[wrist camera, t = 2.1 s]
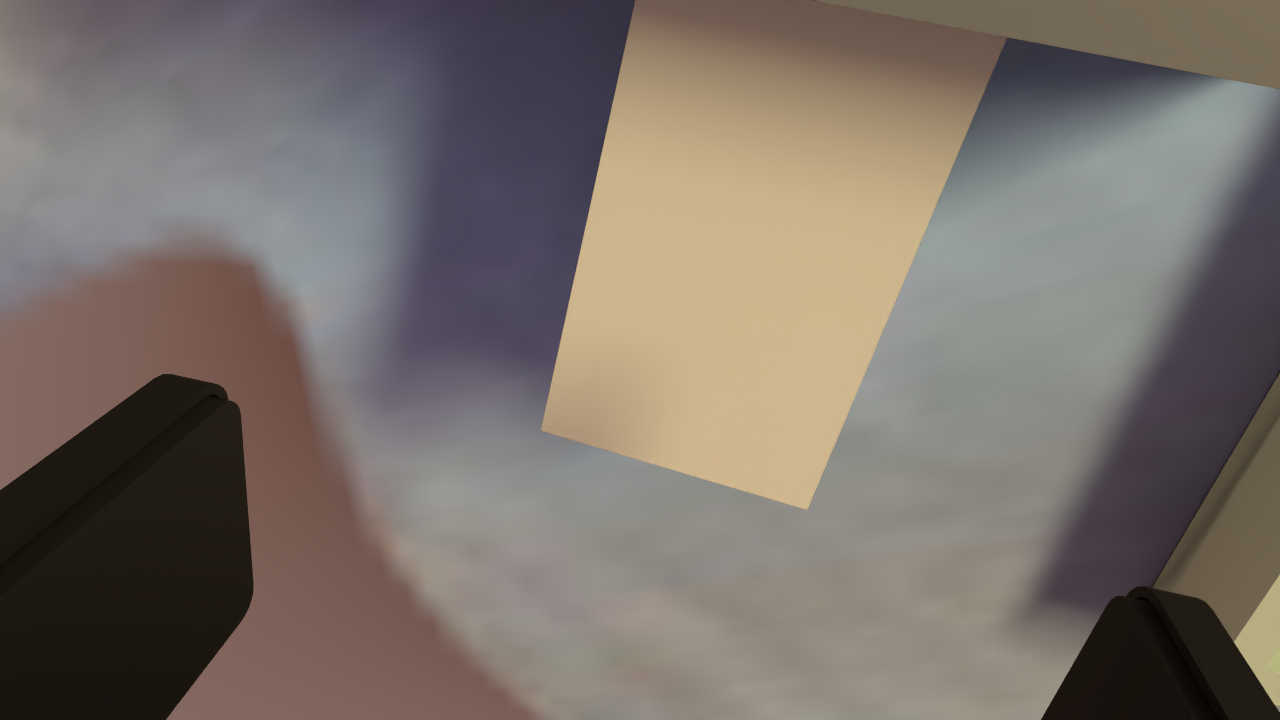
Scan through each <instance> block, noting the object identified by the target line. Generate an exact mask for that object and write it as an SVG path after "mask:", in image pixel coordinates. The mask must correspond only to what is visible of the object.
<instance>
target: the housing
mask: <svg viewBox="0 0 1280 720" xmlns="http://www.w3.org/2000/svg"><path fill="white" fill-rule="evenodd" d="M813 1H819V2H824V3H829V4H834V5H840V6H845V7H850V8H856V9H861V10H866V11H871V12H877V13H882V14H887V15H892V16H898V17H903V18H908V19H914V20H919V21H924V22H929V23H935V24H940V25H945V26H950V27H956V28H961V29H966V30H972V31H977V32H982V33H987V34H993V35H998V36H1003V37H1008V38H1014V39H1019V40H1024V41H1029V42H1035V43H1040V44H1045V45H1051V46H1056V47H1061V48H1066V49H1072V50H1077V51H1082V52H1087V53H1093V54H1098V55H1103V56H1109V57H1114V58H1119V59H1124V60H1130V61H1135V62H1140V63H1145V64H1151V65H1156V66H1161V67H1166V68H1172V69H1177V70H1182V71H1188V72H1193V73H1198V74H1203V75H1209V76H1214V77H1219V78H1224V79H1230V80H1235V81H1240V82H1246V83H1251V84H1256V85H1261V86H1267V87H1272V88H1277V89H1280V0H813Z"/></svg>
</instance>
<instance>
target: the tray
mask: <svg viewBox="0 0 1280 720" xmlns="http://www.w3.org/2000/svg"><path fill="white" fill-rule="evenodd" d="M1152 588H1155V589H1159V590H1164V591H1169V592H1173V593H1178V594H1182V595H1187V596H1191V597H1196V598H1199V599H1201V600H1203V601H1205V602H1206V603H1207V604H1208V605H1209V606H1210V607H1211V608H1212V609H1213V611H1214V612H1215V614H1216V615H1217V617H1218V618H1219V620H1220V621H1221V623H1222V625H1223V626H1224V628H1225V629H1226V631H1227V632H1228V634H1229V635H1230V637H1231V638H1232V640H1233V641H1234V643H1235V645H1236V646H1237V648H1238V649H1239V651H1240V652H1241V654H1242V655H1243V657H1244V658H1245V660H1246V661H1247V663H1248V665H1249V666H1250V668H1251V669H1252V671H1253V672H1254V674H1255V675H1256V677H1257V678H1258V680H1259V681H1260V683H1261V685H1262V686H1263V688H1264V689H1265V691H1266V692H1267V694H1268V695H1269V697H1270V698H1271V700H1272V701H1273V703H1274V705H1277V706H1280V373H1279V375H1278V377H1277V378H1276V380H1275V382H1274V384H1273V385H1272V387H1271V389H1270V390H1269V392H1268V394H1267V395H1266V397H1265V399H1264V400H1263V402H1262V404H1261V405H1260V407H1259V409H1258V410H1257V412H1256V414H1255V416H1254V417H1253V419H1252V421H1251V422H1250V424H1249V426H1248V427H1247V429H1246V431H1245V432H1244V434H1243V436H1242V437H1241V439H1240V441H1239V443H1238V444H1237V446H1236V448H1235V449H1234V451H1233V453H1232V454H1231V456H1230V458H1229V459H1228V461H1227V463H1226V464H1225V466H1224V468H1223V469H1222V471H1221V473H1220V475H1219V476H1218V478H1217V480H1216V481H1215V483H1214V485H1213V486H1212V488H1211V490H1210V491H1209V493H1208V495H1207V496H1206V498H1205V500H1204V502H1203V503H1202V505H1201V507H1200V508H1199V510H1198V512H1197V513H1196V515H1195V517H1194V518H1193V520H1192V522H1191V523H1190V525H1189V527H1188V528H1187V530H1186V532H1185V534H1184V535H1183V537H1182V539H1181V540H1180V542H1179V544H1178V545H1177V547H1176V549H1175V550H1174V552H1173V554H1172V555H1171V557H1170V559H1169V560H1168V562H1167V564H1166V566H1165V567H1164V569H1163V571H1162V572H1161V574H1160V576H1159V577H1158V579H1157V581H1156V582H1155V584H1154V586H1153V587H1152Z"/></svg>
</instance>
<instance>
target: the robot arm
mask: <svg viewBox="0 0 1280 720" xmlns="http://www.w3.org/2000/svg"><path fill="white" fill-rule="evenodd" d="M252 595H253V574H252V559H251V545H250V532H249V518H248V505H247V492H246V479H245V465H244V451H243V438H242V426H241V414H240V409H239V407H238V406H237V404H236V403H234V402H233V401H228V396H227V393H226V391H225V390H224V388H223V387H221V386H220V385H218V384H214V383H209V382H204V381H200V380H196V379H191V378H186V377H181V376H177V375H172V374H162V375H161V376H158V377H156V378H154V379H153V380H152V381H150V382H149V383H148V384H146V385H145V386H143V387H142V388H141V389H139V390H138V391H136V392H135V393H134V394H132V395H131V396H130V397H128V398H127V399H125V400H124V401H123V402H121V403H120V404H119V405H117V406H116V407H114V408H113V409H112V410H110V411H109V412H108V413H106V414H105V415H103V416H102V417H101V418H99V419H98V420H96V421H95V422H94V423H92V424H91V425H90V426H88V427H87V428H85V429H84V430H83V431H81V432H80V433H79V434H77V435H76V436H74V437H73V438H72V439H70V440H69V441H68V442H66V443H65V444H64V445H62V446H61V447H59V448H58V449H57V450H55V451H54V452H52V453H51V454H50V455H48V456H47V457H45V458H44V459H43V460H41V461H40V462H39V463H37V464H36V465H34V466H33V467H32V468H30V469H29V470H28V471H26V472H25V473H23V474H22V475H21V476H19V477H18V478H17V479H15V480H14V481H13V482H11V483H10V484H8V485H7V486H6V487H4V488H3V489H1V490H0V720H166V719H167V717H168V716H169V715H170V714H171V712H172V711H173V710H174V708H175V707H176V705H177V704H178V703H179V702H180V701H181V699H182V698H183V697H184V695H185V694H186V693H187V691H188V690H189V689H190V687H191V686H192V685H193V684H194V682H195V681H196V680H197V678H198V677H199V676H200V674H201V673H202V672H203V670H204V669H205V668H206V667H207V665H208V664H209V663H210V661H211V660H212V659H213V657H214V656H215V655H216V654H217V652H218V651H219V650H220V648H221V647H222V646H223V645H224V643H225V642H226V641H227V639H228V638H229V637H230V635H231V634H232V633H233V631H234V630H235V629H236V628H237V626H238V625H239V624H240V622H241V621H242V619H243V618H244V616H245V615H246V612H247V610H248V608H249V606H250V602H251V600H252ZM1041 720H1280V712H1279V711H1278V709H1277V708H1276V706H1275V705H1274V703H1273V701H1272V700H1271V698H1270V697H1269V695H1268V694H1267V692H1266V691H1265V689H1264V688H1263V686H1262V685H1261V683H1260V681H1259V680H1258V678H1257V677H1256V675H1255V674H1254V672H1253V671H1252V669H1251V668H1250V666H1249V665H1248V663H1247V661H1246V660H1245V658H1244V657H1243V655H1242V654H1241V652H1240V651H1239V649H1238V648H1237V646H1236V645H1235V643H1234V641H1233V640H1232V638H1231V637H1230V635H1229V634H1228V632H1227V631H1226V629H1225V628H1224V626H1223V625H1222V623H1221V621H1220V620H1219V618H1218V617H1217V615H1216V614H1215V612H1214V611H1213V609H1212V608H1211V607H1210V606H1209V605H1208V604H1207V603H1206V602H1205V601H1203V600H1201V599H1199V598H1196V597H1191V596H1187V595H1182V594H1178V593H1173V592H1169V591H1164V590H1159V589H1155V588H1150V587H1146V586H1142V587H1136V588H1134V589H1133V590H1131V591H1130V592H1129V593H1128V594H1127V596H1126V597H1124V596H1116V597H1115V598H1113V599H1111V601H1110V602H1109V603H1108V605H1107V606H1106V608H1105V609H1104V611H1103V613H1102V615H1101V616H1100V618H1099V620H1098V622H1097V623H1096V625H1095V627H1094V629H1093V630H1092V632H1091V634H1090V636H1089V637H1088V639H1087V641H1086V642H1085V644H1084V646H1083V648H1082V649H1081V651H1080V653H1079V655H1078V656H1077V658H1076V660H1075V662H1074V663H1073V665H1072V667H1071V669H1070V670H1069V672H1068V674H1067V675H1066V677H1065V679H1064V681H1063V682H1062V684H1061V686H1060V688H1059V689H1058V691H1057V693H1056V695H1055V696H1054V698H1053V700H1052V702H1051V703H1050V705H1049V707H1048V708H1047V710H1046V712H1045V714H1044V715H1043V717H1042V719H1041Z"/></svg>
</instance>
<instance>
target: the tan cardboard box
mask: <svg viewBox="0 0 1280 720" xmlns="http://www.w3.org/2000/svg"><path fill="white" fill-rule="evenodd" d="M1006 39H1007V37H1003V36H998V35H993V34H987V33H982V32H977V31H972V30H966V29H961V28H956V27H950V26H945V25H940V24H935V23H929V22H924V21H919V20H914V19H908V18H903V17H898V16H892V15H887V14H882V13H877V12H871V11H866V10H861V9H856V8H850V7H845V6H840V5H834V4H829V3H824V2H819V1H813V0H635V4H634V8H633V13H632V18H631V22H630V27H629V31H628V36H627V40H626V45H625V50H624V54H623V59H622V63H621V68H620V72H619V77H618V81H617V86H616V91H615V95H614V100H613V104H612V109H611V113H610V118H609V122H608V127H607V132H606V136H605V141H604V145H603V150H602V154H601V159H600V163H599V168H598V173H597V177H596V182H595V186H594V191H593V195H592V200H591V204H590V209H589V214H588V218H587V223H586V227H585V232H584V236H583V241H582V245H581V250H580V255H579V259H578V264H577V268H576V273H575V277H574V282H573V286H572V291H571V296H570V300H569V305H568V309H567V314H566V318H565V323H564V327H563V332H562V337H561V341H560V346H559V350H558V355H557V359H556V364H555V368H554V373H553V378H552V382H551V387H550V391H549V396H548V400H547V405H546V409H545V414H544V419H543V423H542V428H541V431H544V432H547V433H551V434H554V435H557V436H561V437H564V438H567V439H571V440H574V441H578V442H581V443H584V444H588V445H591V446H594V447H598V448H601V449H604V450H608V451H611V452H615V453H618V454H621V455H625V456H628V457H631V458H635V459H638V460H641V461H645V462H648V463H652V464H655V465H658V466H662V467H665V468H668V469H672V470H675V471H678V472H682V473H685V474H689V475H692V476H695V477H699V478H702V479H705V480H709V481H712V482H715V483H719V484H722V485H726V486H729V487H732V488H736V489H739V490H742V491H746V492H749V493H752V494H756V495H759V496H763V497H766V498H769V499H773V500H776V501H779V502H783V503H786V504H790V505H793V506H796V507H800V508H803V509H806V510H807V509H808V507H809V504H810V502H811V499H812V497H813V495H814V492H815V490H816V488H817V485H818V483H819V481H820V478H821V476H822V474H823V471H824V469H825V466H826V464H827V462H828V459H829V457H830V455H831V452H832V450H833V448H834V445H835V443H836V440H837V438H838V436H839V433H840V431H841V429H842V426H843V424H844V422H845V419H846V417H847V414H848V412H849V410H850V407H851V405H852V403H853V400H854V398H855V396H856V393H857V391H858V389H859V386H860V384H861V381H862V379H863V377H864V374H865V372H866V370H867V367H868V365H869V363H870V360H871V358H872V355H873V353H874V351H875V348H876V346H877V344H878V341H879V339H880V337H881V334H882V332H883V329H884V327H885V325H886V322H887V320H888V318H889V315H890V313H891V311H892V308H893V306H894V304H895V301H896V299H897V296H898V294H899V292H900V289H901V287H902V285H903V282H904V280H905V278H906V275H907V273H908V270H909V268H910V266H911V263H912V261H913V259H914V256H915V254H916V252H917V249H918V247H919V245H920V242H921V240H922V237H923V235H924V233H925V230H926V228H927V226H928V223H929V221H930V219H931V216H932V214H933V211H934V209H935V207H936V204H937V202H938V200H939V197H940V195H941V193H942V190H943V188H944V185H945V183H946V181H947V178H948V176H949V174H950V171H951V169H952V167H953V164H954V162H955V160H956V157H957V155H958V152H959V150H960V148H961V145H962V143H963V141H964V138H965V136H966V134H967V131H968V129H969V126H970V124H971V122H972V119H973V117H974V115H975V112H976V110H977V108H978V105H979V103H980V100H981V98H982V96H983V93H984V91H985V89H986V86H987V84H988V82H989V79H990V77H991V75H992V72H993V70H994V67H995V65H996V63H997V60H998V58H999V56H1000V53H1001V51H1002V49H1003V46H1004V44H1005V41H1006Z"/></svg>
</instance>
